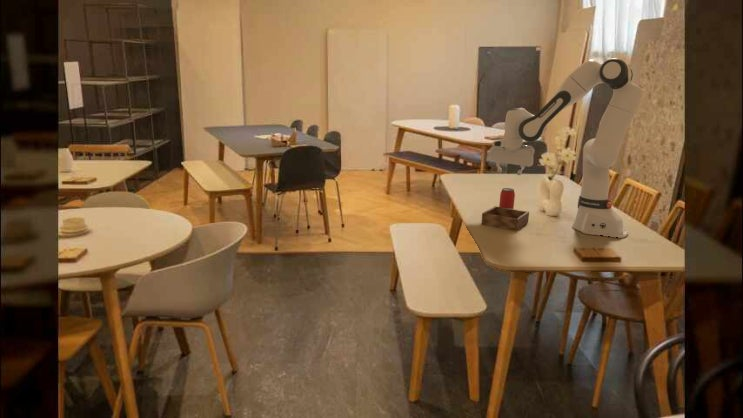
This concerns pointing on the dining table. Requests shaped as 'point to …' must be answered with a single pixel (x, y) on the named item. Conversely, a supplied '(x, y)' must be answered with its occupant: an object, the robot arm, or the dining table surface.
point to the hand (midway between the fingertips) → (509, 173)
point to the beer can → (507, 198)
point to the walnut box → (505, 218)
